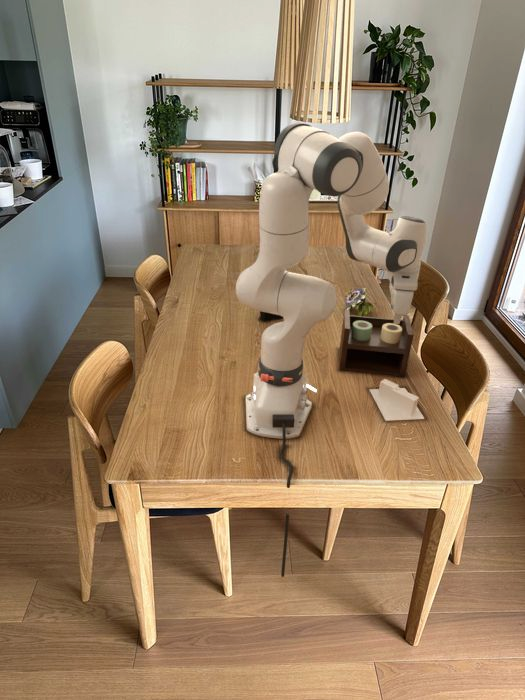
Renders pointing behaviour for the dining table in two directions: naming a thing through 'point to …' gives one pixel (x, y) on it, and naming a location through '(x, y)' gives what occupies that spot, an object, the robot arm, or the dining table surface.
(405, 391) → the napkin holder
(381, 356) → the shelf
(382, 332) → the cream tape roll
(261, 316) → the film camera
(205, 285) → the dining table surface
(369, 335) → the sage tape roll
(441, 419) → the dining table surface
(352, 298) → the passion flower
